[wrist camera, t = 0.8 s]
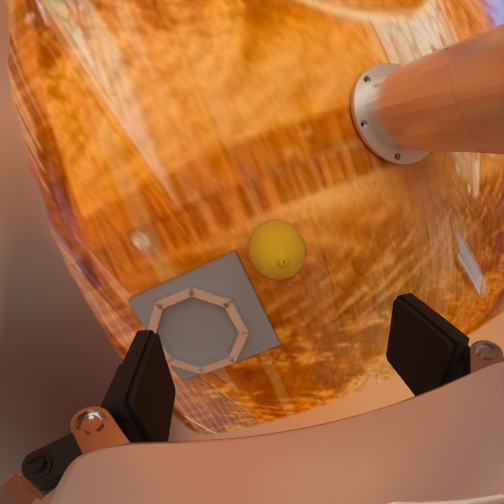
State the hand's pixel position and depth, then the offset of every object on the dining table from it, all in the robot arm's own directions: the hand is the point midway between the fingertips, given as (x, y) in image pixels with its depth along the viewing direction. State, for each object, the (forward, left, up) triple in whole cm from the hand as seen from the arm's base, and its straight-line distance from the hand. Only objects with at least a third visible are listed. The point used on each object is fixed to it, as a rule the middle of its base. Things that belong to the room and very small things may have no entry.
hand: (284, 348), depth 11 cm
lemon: (-2, +2, -22) cm, 23 cm away
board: (+9, +8, -22) cm, 25 cm away
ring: (+10, +8, -21) cm, 25 cm away
